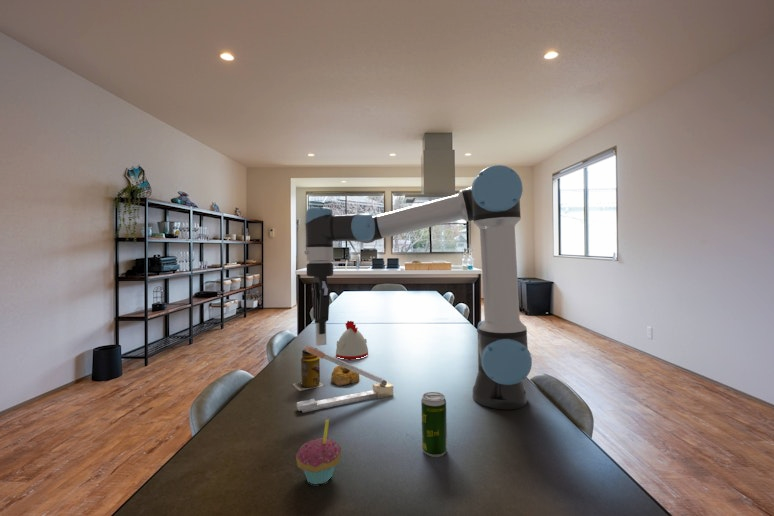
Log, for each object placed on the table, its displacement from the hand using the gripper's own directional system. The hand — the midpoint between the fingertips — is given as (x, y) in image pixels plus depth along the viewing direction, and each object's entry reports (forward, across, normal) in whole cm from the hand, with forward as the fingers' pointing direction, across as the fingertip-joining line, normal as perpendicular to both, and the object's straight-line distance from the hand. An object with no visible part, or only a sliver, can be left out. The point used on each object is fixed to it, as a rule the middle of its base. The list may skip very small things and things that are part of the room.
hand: (321, 344), depth 101 cm
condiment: (+18, -19, 0) cm, 26 cm away
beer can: (+18, +34, +16) cm, 42 cm away
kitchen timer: (+18, -46, +25) cm, 55 cm away
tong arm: (+8, 0, +8) cm, 11 cm away
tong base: (+18, 0, +7) cm, 19 cm away
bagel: (+18, -17, +13) cm, 28 cm away
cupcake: (+18, +32, -9) cm, 38 cm away
